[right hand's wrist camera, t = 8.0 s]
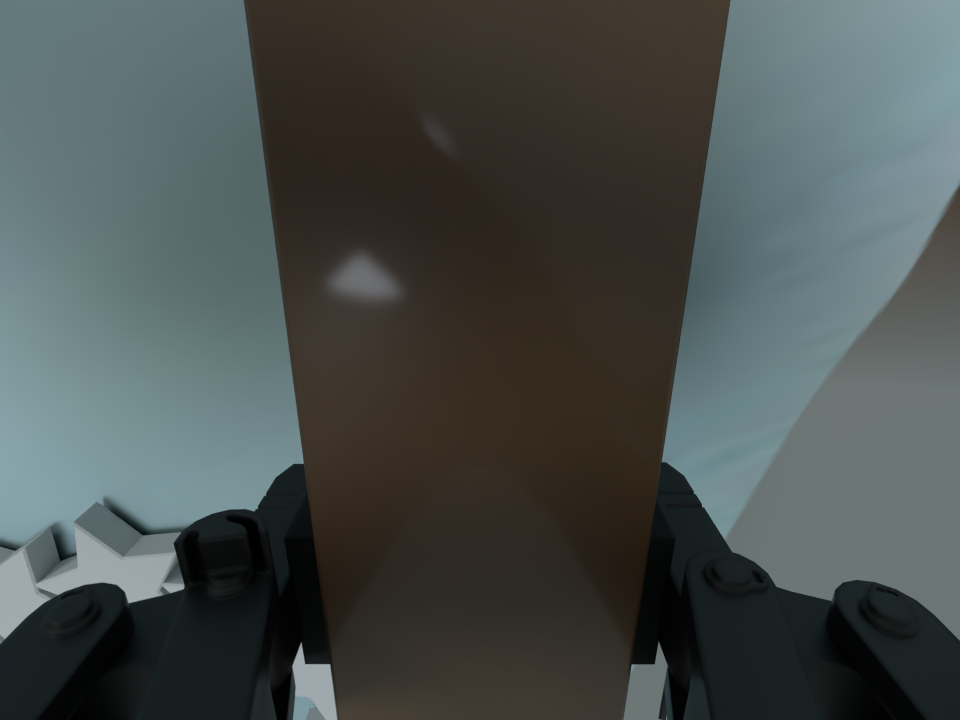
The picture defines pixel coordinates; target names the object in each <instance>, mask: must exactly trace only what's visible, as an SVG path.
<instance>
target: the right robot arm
mask: <svg viewBox="0 0 960 720" xmlns="http://www.w3.org/2000/svg"><path fill="white" fill-rule="evenodd" d="M173 544H174V548H175V551H176V555H177V559H178V563H179V567H180V570H181V574H182V578H183V582H184V589H182V590H179V591H176V592H173V593H170V594H166V595H162V596H157V597H153V598H149V599H145V600H140V601H136V602H132V603H128V600H127V597H126V594H125V592H124V591H123V590H122V589H121V588H120V587H119V586H118V585H115V584H110V583H104V582H102V583H94V584H86V585H82V586H79V587H77V588H74V589H71V590H68V591H65V592H63V593H61V594H59V595H57V596H56V597H54V598H52V599H50V600H48V601H46V602H45V603H43V604H42V605H41V606H40V607H38V608H37V609H36V610H35V611H33V612H32V613H31V614H30V615H28V616H27V617H26V618H25V619H24V620H23V621H22V622H21V623H20V624H19V625H18V626H17V627H16V628H15V629H14V630H13V631H12V632H11V633H10V634H9V635H8V636H7V638H6V639H5V640H4V641H3V642H2V643H1V644H0V720H293V712H294V701H295V691H296V686H295V679H294V672H293V667H292V666H293V664H294V661H295V658H296V655H297V653H298V650H299V647H300V644H301V643H302V649H303V655H304V661H305V664H330V660H329V652H328V645H327V637H326V629H325V622H324V614H323V606H322V598H321V591H320V583H319V575H318V568H317V560H316V552H315V545H314V537H313V529H312V521H311V514H310V506H309V498H308V491H307V483H306V475H305V467H304V464H293V465H292V466H291V467H289V468H288V469H287V470H285V471H284V472H283V473H281V474H280V475H279V476H277V477H276V478H275V480H274V482H273V483H272V485H271V486H270V488H269V489H268V491H267V493H266V496H264V497H263V499H262V501H261V502H260V504H259V505H258V509H256V510H255V512H254V511H250V510H247V509H237V510H226V511H222V512H218V513H214V514H211V515H209V516H206V517H204V518H202V519H200V520H198V521H195V522H194V523H193V524H191V525H190V526H189V527H187V528H186V529H185V530H183V531H182V532H181V533H180V535H179V536H178V538H177V539H176V540H175V542H174V543H173ZM658 641H659V643H660V645H661V648H662V651H663V654H664V656H665V659H666V662H667V665H668V667H667V672H666V678H665V684H664V689H663V694H662V700H661V706H660V713H659V719H661V720H666V715H667V720H960V641H959V640H958V639H957V638H956V637H955V636H954V635H953V634H952V633H951V631H950V630H948V628H946V626H945V625H944V624H943V623H941V621H940V620H939V619H938V618H937V617H936V616H935V615H934V614H932V613H931V612H930V611H929V610H927V609H926V608H925V607H924V606H923V605H921V604H920V603H919V602H918V601H916V600H915V599H913V598H911V597H909V596H907V595H905V594H904V593H902V592H900V591H898V590H896V589H893V588H890V587H887V586H885V585H881V584H879V583H876V582H869V581H861V580H855V581H849V582H844V583H842V584H841V585H840V586H839V587H838V588H837V589H836V590H835V592H834V595H833V598H832V601H829V600H825V599H820V598H816V597H812V596H807V595H803V594H799V593H795V592H791V591H788V590H784V589H781V588H778V587H776V586H775V584H774V582H773V581H772V579H771V578H770V576H769V575H768V573H767V572H766V571H764V570H763V569H762V568H761V567H760V566H759V565H757V564H756V563H755V562H753V561H751V560H749V559H747V558H745V557H743V556H741V555H739V554H736V553H733V552H732V551H731V550H730V548H729V546H728V545H727V543H726V542H725V540H724V538H723V537H722V535H721V534H720V532H719V531H718V529H717V527H716V526H715V524H714V523H713V521H712V520H711V518H710V516H709V515H708V513H707V512H706V510H705V508H704V507H702V504H701V502H700V501H699V499H698V497H697V496H696V494H694V491H693V489H692V488H691V486H690V485H689V483H688V482H687V480H686V478H685V477H684V475H682V474H681V473H680V472H678V471H677V470H676V469H674V468H673V467H672V466H670V465H669V464H668V463H666V462H662V463H661V469H660V476H659V483H658V490H657V496H656V503H655V510H654V517H653V523H652V530H651V537H650V543H649V550H648V557H647V564H646V570H645V577H644V584H643V590H642V597H641V604H640V611H639V617H638V624H637V631H636V637H635V644H634V651H633V658H632V664H655V659H656V653H657V647H658Z"/></svg>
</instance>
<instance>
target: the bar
mask: <svg viewBox="0 0 960 720" xmlns="http://www.w3.org/2000/svg"><path fill="white" fill-rule="evenodd" d="M244 5H245V12H246V20H247V28H248V36H249V43H250V51H251V59H252V66H253V74H254V82H255V90H256V97H257V105H258V113H259V120H260V128H261V136H262V144H263V151H264V159H265V167H266V174H267V182H268V190H269V197H270V205H271V213H272V221H273V228H274V236H275V244H276V251H277V259H278V267H279V275H280V282H281V290H282V298H283V305H284V313H285V321H286V329H287V336H288V344H289V352H290V359H291V367H292V375H293V383H294V390H295V398H296V406H297V413H298V421H299V429H300V437H301V444H302V452H303V460H304V467H305V475H306V483H307V491H308V498H309V506H310V514H311V521H312V529H313V537H314V545H315V552H316V560H317V568H318V575H319V583H320V591H321V598H322V606H323V614H324V622H325V629H326V637H327V645H328V652H329V660H330V668H331V676H332V683H333V691H334V699H335V706H336V714H337V720H623V718H624V711H625V705H626V698H627V691H628V684H629V678H630V671H631V664H632V658H633V651H634V644H635V637H636V631H637V624H638V617H639V611H640V604H641V597H642V590H643V584H644V577H645V570H646V564H647V557H648V550H649V543H650V537H651V530H652V523H653V517H654V510H655V503H656V496H657V490H658V483H659V476H660V469H661V463H662V456H663V449H664V443H665V436H666V429H667V422H668V416H669V409H670V402H671V396H672V389H673V382H674V375H675V369H676V362H677V355H678V349H679V342H680V335H681V328H682V322H683V315H684V308H685V301H686V295H687V288H688V281H689V275H690V268H691V261H692V254H693V248H694V241H695V234H696V228H697V221H698V214H699V207H700V201H701V194H702V187H703V181H704V174H705V167H706V160H707V154H708V147H709V140H710V134H711V127H712V120H713V113H714V107H715V100H716V93H717V86H718V80H719V73H720V66H721V60H722V53H723V46H724V39H725V33H726V26H727V19H728V13H729V6H730V0H244Z"/></svg>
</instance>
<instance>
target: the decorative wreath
mask: <svg viewBox="0 0 960 720" xmlns="http://www.w3.org/2000/svg"><path fill="white" fill-rule="evenodd" d="M74 528H75V539H76V550H77V555H75V556H72V557H70V558H67V559H65V560H62V561H60V559H59V555H58V552H57V548H56V545H55V541H54V538H53V535H52V531H51V528H50V527H49V528H48V529H46V530H45V531H43V532H42V533H40V534H39V535H38V536H36V537H35V538H33V539H32V540H30V541H29V542H28V543H26V544H25V545H23V546H22V547H20V548H19V549H18V550H16V551H14V550H10V549H7V548H3V547H0V644H1V643H2V642H3V641H4V640H5V639H6V638H7V636H8V635H9V634H10V633H11V632H12V631H13V630H14V629H15V628H16V627H17V626H18V625H19V624H20V623H21V622H22V621H23V620H24V619H25V618H26V617H27V616H28V615H30V614H31V613H32V612H33V611H35V610H36V609H37V608H38V607H40V606H41V605H42V604H43V603H45V602H46V601H48V600H50V599H52V598H54V597H56V596H57V595H59V594H61V593H63V592H65V591H68V590H71V589H74V588H77V587H79V586H82V585H86V584H94V583H102V582H104V583H110V584H115V585H118V586H119V587H120V588H121V589H122V590H123V591H124V592H125V594H126V597H127V600H128V603H132V602H136V601H140V600H145V599H149V598H153V597H157V596H162V595H166V594H170V593H173V592H176V591H179V590H182V589H184V582H183V578H182V574H181V570H180V567H179V563H178V559H177V555H176V551H175V548H174V544H173V543H174V542H175V540H176V539H177V538H178V536H179V535H180V533H181V532H176V533H166V534H155V535H144V536H143V535H141V534H140V533H139V532H137V531H136V530H135V529H133V528H132V527H131V526H129V525H128V524H127V523H125V522H124V521H123V520H121V519H120V518H119V517H117V516H116V515H115V514H113V513H112V512H111V511H109V510H108V509H107V508H105V507H104V506H103V505H101V504H100V503H98V502H96V503H95V504H94V505H93V506H91V507H90V508H89V509H88V510H87V511H86V512H85V513H83V514H82V515H81V516H80V517H79V518H78V519H77V520H75V521H74ZM292 667H293V672H294V679H295V686H296V691H295V695H296V696H302V697H309V698H310V699H311V700H312V701H313V703H314V704H315V706H316V707H317V708H312V709H309V712H308V715H307V718H306V720H337V714H336V706H335V699H334V691H333V683H332V676H331V668H330V664H305V661H304V655H303V649H302V643H301V644H300V647H299V650H298V653H297V655H296V658H295V661H294V664H293V666H292Z"/></svg>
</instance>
